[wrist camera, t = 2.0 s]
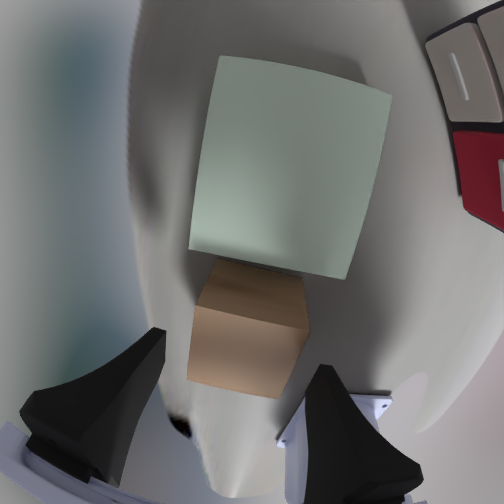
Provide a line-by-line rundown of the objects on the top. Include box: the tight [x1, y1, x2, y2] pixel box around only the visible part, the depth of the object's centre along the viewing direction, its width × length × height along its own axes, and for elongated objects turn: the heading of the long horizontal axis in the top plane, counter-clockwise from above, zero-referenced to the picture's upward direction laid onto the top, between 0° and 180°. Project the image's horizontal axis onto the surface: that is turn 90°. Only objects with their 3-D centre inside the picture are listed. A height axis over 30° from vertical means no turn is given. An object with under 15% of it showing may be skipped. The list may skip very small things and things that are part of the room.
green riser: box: [189, 55, 392, 280], centre depth 13 cm, size 9×8×3 cm
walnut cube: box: [186, 258, 310, 399], centre depth 15 cm, size 5×5×5 cm
